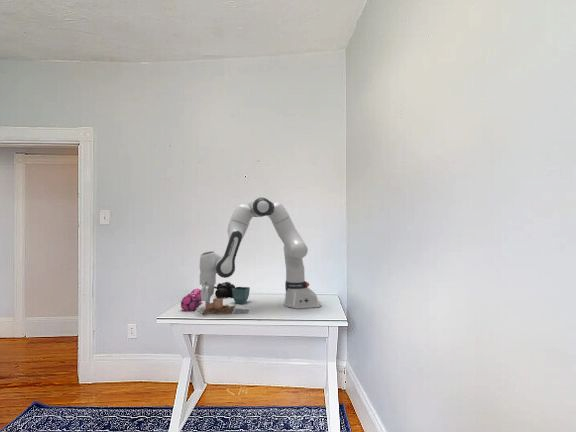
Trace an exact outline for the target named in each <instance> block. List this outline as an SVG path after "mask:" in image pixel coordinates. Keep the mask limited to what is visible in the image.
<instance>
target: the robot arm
mask: <svg viewBox="0 0 576 432" xmlns="http://www.w3.org/2000/svg"><path fill="white" fill-rule="evenodd" d="M262 217H268V218H269V219H270V222H271V224H272V226H273V228H274V229H275V231H276V233H277V235H278V237H279V238H280V240H281V241H282V244H283V253H284V255H283V256H284V263H285V282H284V284H285V285H284V286H285V297H284V302H283V306H284V307H287V308H293V309H295V310H296V309H309V308H312V309H313V308H320V307H321V306H322V303H321V301H320V300H318V296H317V294H316V293H315V292H314V291H313V290H312V289H311V288H309V286H310V283H309V282H307V281H305V265H304V258H305V257H306V256H307V255H308V250H309V249H308V248H309V247H308V245H306V243H305V242H304V240H303V238H302V236H301V235H300V233H299V232H298V229H296V227H295V225H294V223H293V221H292V218H291V217H290V215H289V212H288V211H287V209H286V207H284V205H283V204H282V203H281V202H279V201H277V202H272V201H270V200H269V199H267V198H266V197H257V198H255V199H253V200H252V201H251V202H250V203H249V204H245V203H240V204H238V205H236V207H235V209H234V210H233V212H232V215H231V217H230V219H229V223H228V225H227V226H228V227H227V234H228V241H227V245H226V248H225V252H224V254H223V256H222V255H220V254H218V253H216V252H215V251H206V252H204V253H201V254H200V257H199V270H200V272H199V285H201V289H200V290H201V302H205V303H204V304H208V303H211V302H210V301H211V297H212V296H213V294H215V288H214V286H215V285H217V282H216V281H217V280H216V279H217V276H216V275H218V276H219V277H220V278H224V279H226V278H230V277H231V276H233V274H234V273H235V270H236V264H235V263H236V257H237V254H238V251H239V248H240V245H241V242H242V241H243V238H244V236H245V235H246V233H247V230H248V228H249V226H250V221H251V220H252V219H253V218H262Z"/></svg>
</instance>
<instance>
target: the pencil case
mask: <svg viewBox="0 0 576 432" xmlns="http://www.w3.org/2000/svg"><path fill="white" fill-rule="evenodd" d="M201 302H202V301H201V289H200V288H194V289H192V290H191V291H190V293H187V294H186V295H185V296H184V297H183V298H182V299H181V301H180V308H181V309H182V310H183V311H184V312H190V311H194V310H195V308H196V307H197V306H199V305H200V303H201Z"/></svg>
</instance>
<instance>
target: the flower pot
mask: <svg viewBox="0 0 576 432" xmlns="http://www.w3.org/2000/svg"><path fill="white" fill-rule="evenodd" d="M250 289H251V288H250V287H248V286H235V288H234V289H232V293H233V298H232V299H233V301H234V302H235V304H240V305H242V304H245V303H246V302H247V301H248V300H249V297H250Z"/></svg>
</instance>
